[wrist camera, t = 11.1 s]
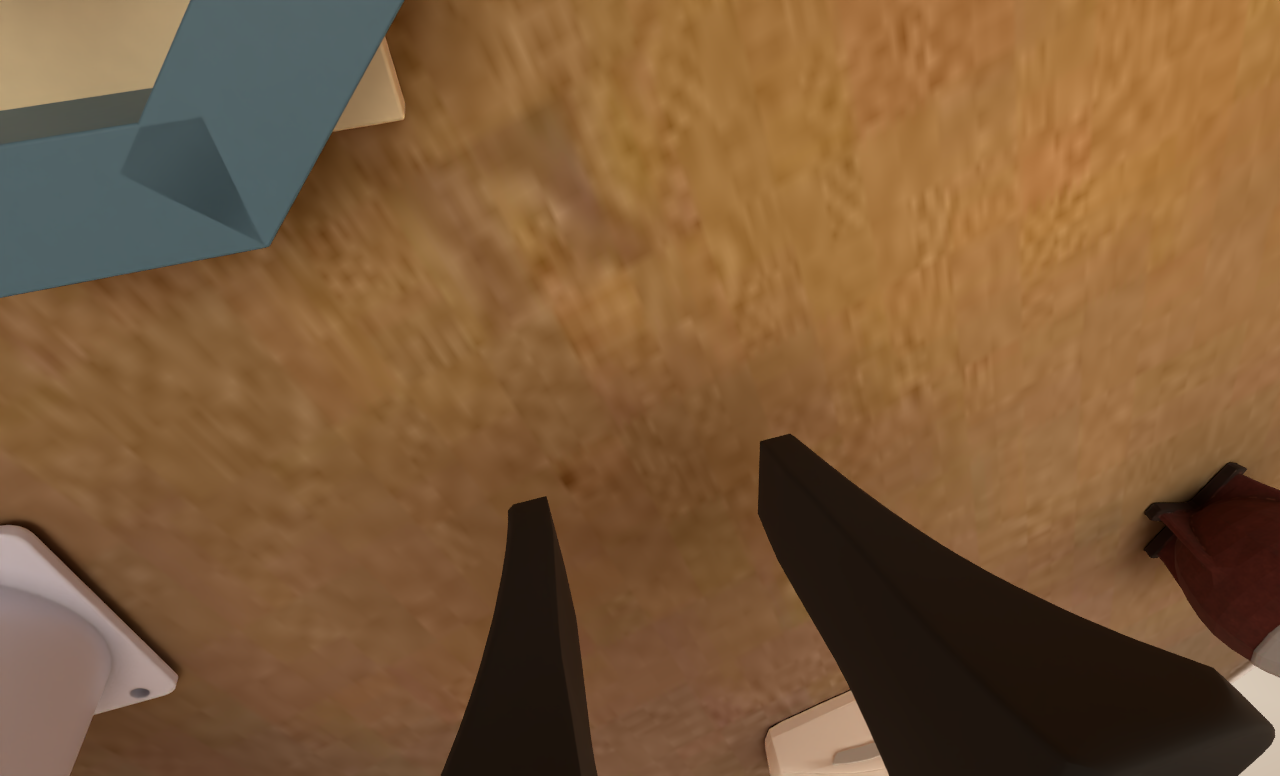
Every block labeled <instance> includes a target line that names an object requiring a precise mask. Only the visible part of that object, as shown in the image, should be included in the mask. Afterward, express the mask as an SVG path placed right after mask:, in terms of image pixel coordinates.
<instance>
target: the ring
mask: <svg viewBox="0 0 1280 776" xmlns="http://www.w3.org/2000/svg"><path fill="white" fill-rule="evenodd" d="M403 2H404V0H190V2H189V4H188V7H187V9H186V11H185V14H184V16H183V18H182V21H181V23H180V25H179V28H178V30H177V32H176V34H175V37H174V39H173V41H172V44H171V46H170V48H169V51H168V53H167V55H166V58H165V60H164V62H163V65H162V67H161V69H160V72H159V74H158V76H157V79H156V81H155V83H154V86H153V88H148V89H141V90H135V91H128V92H121V93H115V94H108V95H102V96H95V97H88V98H82V99H75V100H69V101H62V102H55V103H49V104H42V105H35V106H29V107H22V108H16V109H9V110H2V111H0V298H2V297H7V296H12V295H17V294H23V293H28V292H33V291H39V290H44V289H49V288H55V287H60V286H65V285H70V284H76V283H81V282H86V281H92V280H97V279H102V278H108V277H113V276H118V275H124V274H129V273H134V272H139V271H145V270H150V269H155V268H161V267H166V266H171V265H177V264H182V263H187V262H192V261H198V260H203V259H208V258H214V257H219V256H224V255H230V254H235V253H240V252H245V251H251V250H256V249H261V248H266V247H269V246H270V245H271V243H272V241H273V239H274V237H275V236H276V234H277V232H278V230H279V228H280V226H281V225H282V223H283V221H284V219H285V217H286V215H287V214H288V212H289V210H290V208H291V206H292V205H293V203H294V201H295V199H296V197H297V195H298V194H299V192H300V190H301V188H302V186H303V184H304V183H305V181H306V179H307V177H308V175H309V174H310V172H311V170H312V168H313V166H314V164H315V163H316V161H317V159H318V157H319V155H320V153H321V152H322V150H323V148H324V146H325V144H326V143H327V141H328V139H329V137H330V135H331V133H332V132H333V130H334V128H335V126H336V124H337V122H338V121H339V119H340V117H341V115H342V113H343V112H344V110H345V108H346V106H347V104H348V102H349V101H350V99H351V97H352V95H353V93H354V91H355V90H356V88H357V86H358V84H359V82H360V81H361V79H362V77H363V75H364V73H365V71H366V70H367V68H368V66H369V64H370V62H371V60H372V59H373V57H374V55H375V53H376V51H377V50H378V48H379V46H380V44H381V42H382V40H383V39H384V37H385V35H386V33H387V31H388V29H389V28H390V26H391V24H392V22H393V20H394V19H395V17H396V15H397V13H398V11H399V9H400V8H401V6H402V4H403Z"/></svg>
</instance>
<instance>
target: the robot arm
mask: <svg viewBox="0 0 1280 776" xmlns="http://www.w3.org/2000/svg"><path fill="white" fill-rule="evenodd" d="M758 515H759V517H760V519H761V522H762V524H763V527H764V529H765V532H766V534H767V536H768V539H769V541H770V543H771V546H772V548H773V550H774V552H775V555H776V557H777V559H778V561H779V563H780V565H781V567H782V568H783V570H784V572H785V574H786V575H787V577H788V579H789V581H790V582H791V584H792V586H793V588H794V589H795V591H796V593H797V595H798V596H799V598H800V600H801V602H802V603H803V605H804V607H805V609H806V610H807V612H808V614H809V615H810V617H811V619H812V621H813V622H814V624H815V626H816V627H817V629H818V631H819V633H820V634H821V636H822V638H823V640H824V641H825V643H826V645H827V646H828V648H829V650H830V652H831V653H832V655H833V657H834V658H835V660H836V662H837V664H838V666H839V668H840V670H841V672H842V673H843V675H844V677H845V679H846V681H847V683H848V685H849V687H850V689H851V692H852V694H853V696H854V698H855V700H856V702H857V705H858V707H859V709H860V711H861V713H862V715H863V718H864V720H865V722H866V724H867V726H868V729H869V731H870V733H871V735H872V737H873V740H874V742H875V744H876V747H877V749H878V751H879V753H880V756H881V758H882V760H883V763H884V765H885V767H886V769H887V772H888V774H889V776H1238V775H1239V774H1240V773H1241V772H1242V771H1244V770H1245V769H1246V768H1247V767H1248V766H1249V765H1250V764H1252V763H1253V762H1254V761H1255V760H1256V759H1257V758H1258V757H1259V756H1260V755H1262V754H1263V753H1264V752H1265V750H1266V749H1267V748H1268V747H1269V746H1270V745H1271V744H1272V742H1273V740H1274V738H1275V729H1274V727H1273V726H1272V724H1271V723H1270V722H1269V721H1268V720H1267V719H1266V718H1265V717H1264V716H1263V715H1262V714H1261V713H1260V712H1259V711H1258V710H1257V709H1256V708H1255V707H1254V706H1253V705H1252V704H1251V703H1250V702H1249V701H1248V700H1247V699H1246V698H1245V697H1243V696H1242V694H1241V693H1240V692H1239V691H1238V690H1237V689H1236V688H1234V687H1233V686H1232V685H1231V684H1230V683H1229V682H1228V681H1227V680H1226V679H1225V678H1224V677H1223V676H1222V675H1220V674H1219V673H1218V672H1217V671H1216V670H1215V669H1214V668H1212V667H1209V666H1207V665H1204V664H1201V663H1198V662H1196V661H1193V660H1190V659H1187V658H1185V657H1182V656H1179V655H1176V654H1174V653H1171V652H1168V651H1165V650H1163V649H1160V648H1157V647H1154V646H1152V645H1149V644H1146V643H1143V642H1141V641H1138V640H1135V639H1133V638H1130V637H1128V636H1125V635H1123V634H1120V633H1118V632H1116V631H1113V630H1111V629H1108V628H1106V627H1104V626H1101V625H1099V624H1096V623H1094V622H1092V621H1089V620H1087V619H1084V618H1082V617H1080V616H1078V615H1075V614H1073V613H1071V612H1069V611H1066V610H1064V609H1062V608H1060V607H1058V606H1056V605H1054V604H1052V603H1050V602H1048V601H1045V600H1043V599H1041V598H1039V597H1037V596H1035V595H1033V594H1031V593H1029V592H1027V591H1025V590H1023V589H1021V588H1018V587H1016V586H1014V585H1012V584H1010V583H1008V582H1006V581H1005V580H1003V579H1001V578H999V577H997V576H995V575H993V574H991V573H989V572H988V571H986V570H984V569H982V568H981V567H979V566H977V565H975V564H973V563H972V562H970V561H968V560H966V559H965V558H963V557H961V556H959V555H958V554H956V553H954V552H953V551H951V550H950V549H948V548H946V547H945V546H943V545H941V544H940V543H938V542H937V541H935V540H933V539H932V538H930V537H929V536H927V535H926V534H924V533H923V532H921V531H920V530H918V529H917V528H915V527H914V526H912V525H911V524H909V523H908V522H906V521H905V520H903V519H902V518H900V517H899V516H897V515H896V514H895V513H893V512H892V511H890V510H889V509H887V508H886V507H885V506H883V505H882V504H881V503H879V502H878V501H877V500H875V499H874V498H872V497H871V496H870V495H868V494H867V493H866V492H864V491H863V490H861V489H860V488H859V487H857V486H856V485H855V484H854V483H852V482H851V481H850V480H848V479H847V478H846V477H844V476H843V475H842V474H841V473H839V472H838V471H837V470H836V469H834V468H833V467H832V466H830V465H829V464H828V463H827V462H825V461H824V460H823V459H822V458H820V457H819V456H818V455H817V454H816V453H814V452H813V451H812V450H811V449H809V448H808V447H807V446H806V445H804V444H803V443H802V442H801V441H799V440H798V439H797V438H796V437H794V436H793V435H791V434H787V435H783V436H779V437H775V438H771V439H767V440H763V441H760V461H759V495H758ZM177 681H178V675H177V674H176V673H175V672H174V671H173V670H172V669H171V668H170V667H169V666H168V665H167V664H166V663H165V662H164V661H163V660H162V659H161V658H160V657H159V656H158V655H157V654H156V653H155V652H154V651H153V650H152V649H151V648H150V647H149V646H148V645H147V644H146V643H145V642H144V641H143V640H142V639H141V638H140V637H139V636H138V635H137V634H136V633H135V632H134V631H133V630H132V629H130V628H129V627H128V626H127V625H126V624H125V623H124V622H123V621H122V620H121V619H120V618H119V617H118V616H117V615H116V614H115V613H114V612H113V611H112V610H111V609H110V608H109V607H108V606H107V605H106V604H105V603H104V602H103V601H102V600H101V599H100V598H99V597H98V596H97V595H96V594H95V593H94V592H93V591H92V590H91V589H90V588H89V587H88V586H87V585H86V584H85V583H84V582H83V581H81V580H80V579H79V578H78V577H77V576H76V575H75V574H74V573H73V572H72V571H71V570H70V569H69V568H68V567H67V566H66V565H65V564H64V563H63V562H62V561H61V560H60V559H59V558H58V557H57V556H56V555H55V554H54V553H53V552H52V551H51V550H50V549H49V548H48V547H47V546H46V545H45V544H44V543H43V542H42V541H41V540H40V539H39V538H38V537H37V536H36V535H35V534H33V533H32V532H31V531H29V530H28V529H26V528H23V527H20V526H15V525H3V526H0V776H70V773H71V771H72V768H73V766H74V763H75V761H76V758H77V756H78V753H79V751H80V748H81V745H82V743H83V740H84V738H85V735H86V733H87V730H88V728H89V725H90V723H91V720H92V718H93V715H96V714H99V713H103V712H106V711H110V710H114V709H117V708H121V707H124V706H128V705H132V704H135V703H139V702H142V701H146V700H150V699H153V698H157V697H160V696H164V695H167V694H169V693H171V692H172V691H173V690H175V687H176V684H177ZM441 776H597V771H596V766H595V761H594V754H593V748H592V742H591V735H590V727H589V719H588V710H587V702H586V694H585V686H584V677H583V669H582V661H581V653H580V645H579V636H578V628H577V620H576V615H575V610H574V606H573V601H572V597H571V592H570V588H569V583H568V579H567V574H566V570H565V565H564V561H563V558H562V554H561V550H560V546H559V542H558V539H557V535H556V531H555V527H554V523H553V519H552V516H551V512H550V508H549V504H548V500H547V497H546V496H545V497H541V498H537V499H533V500H529V501H525V502H521V503H517V504H514V505H512V507H511V508H510V509H509V510H508V532H507V543H506V551H505V558H504V565H503V571H502V577H501V582H500V587H499V592H498V596H497V601H496V606H495V611H494V615H493V620H492V624H491V627H490V631H489V635H488V638H487V642H486V646H485V650H484V653H483V657H482V661H481V664H480V668H479V671H478V674H477V677H476V681H475V684H474V687H473V690H472V693H471V696H470V699H469V702H468V705H467V708H466V711H465V714H464V716H463V719H462V722H461V725H460V728H459V730H458V733H457V735H456V738H455V741H454V743H453V746H452V748H451V751H450V753H449V756H448V759H447V761H446V764H445V766H444V769H443V771H442V774H441Z"/></svg>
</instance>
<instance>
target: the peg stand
mask: <svg viewBox="0 0 1280 776" xmlns="http://www.w3.org/2000/svg"><path fill="white" fill-rule="evenodd" d="M189 2H190V0H0V111H2V110H9V109H16V108H22V107H29V106H35V105H42V104H49V103H55V102H62V101H69V100H75V99H82V98H88V97H95V96H102V95H108V94H115V93H121V92H128V91H135V90H141V89H148V88H153V86H154V83H155V81H156V79H157V76H158V74H159V72H160V69H161V67H162V65H163V62H164V60H165V58H166V55H167V53H168V51H169V48H170V46H171V44H172V41H173V39H174V37H175V34H176V32H177V30H178V28H179V25H180V23H181V21H182V18H183V16H184V14H185V11H186V9H187V7H188V4H189ZM404 117H405V101H404V98H403V95H402V91H401V88H400V85H399V81H398V78H397V74H396V71H395V68H394V64H393V61H392V58H391V54H390V51H389V47H388V44H387V41H386V37H384V39H383V40H382V42H381V44H380V46H379V48H378V50H377V51H376V53H375V55H374V57H373V59H372V60H371V62H370V64H369V66H368V68H367V70H366V71H365V73H364V75H363V77H362V79H361V81H360V82H359V84H358V86H357V88H356V90H355V91H354V93H353V95H352V97H351V99H350V101H349V102H348V104H347V106H346V108H345V110H344V112H343V113H342V115H341V117H340V119H339V121H338V122H337V124H336V126H335V128H334V130H333V132H334V131H340V130H346V129H352V128H358V127H364V126H370V125H376V124H382V123H388V122H394V121H400V120H403V119H404Z"/></svg>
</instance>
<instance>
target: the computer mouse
mask: <svg viewBox="0 0 1280 776" xmlns="http://www.w3.org/2000/svg"><path fill="white" fill-rule="evenodd" d="M765 750H766V755H767V760H768V765H769V771H770V776H889V774H888V772H887V769H886V767H885V765H884V763H883V760H882V758H881V756H880V753H879V751H878V749H877V747H876V744H875V742H874V740H873V737H872V735H871V733H870V731H869V729H868V726H867V724H866V722H865V720H864V718H863V715H862V713H861V711H860V709H859V707H858V705H857V702H856V700H855V698H854V696H853V694H852V692H851V691H848V692H846V693H844V694H842V695H839V696H837V697H835V698H833V699H830V700H828V701H826V702H824V703H821V704H819V705H817V706H815V707H813V708H810V709H808V710H806V711H804V712H802V713H800V714H798V715H795V716H793V717H791V718H789V719H787V720H784V721H782V722H780V723H779V724H777V725H775V726H774V727H772V728H770V729H769V731H768V733H767V736H766V738H765Z"/></svg>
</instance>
